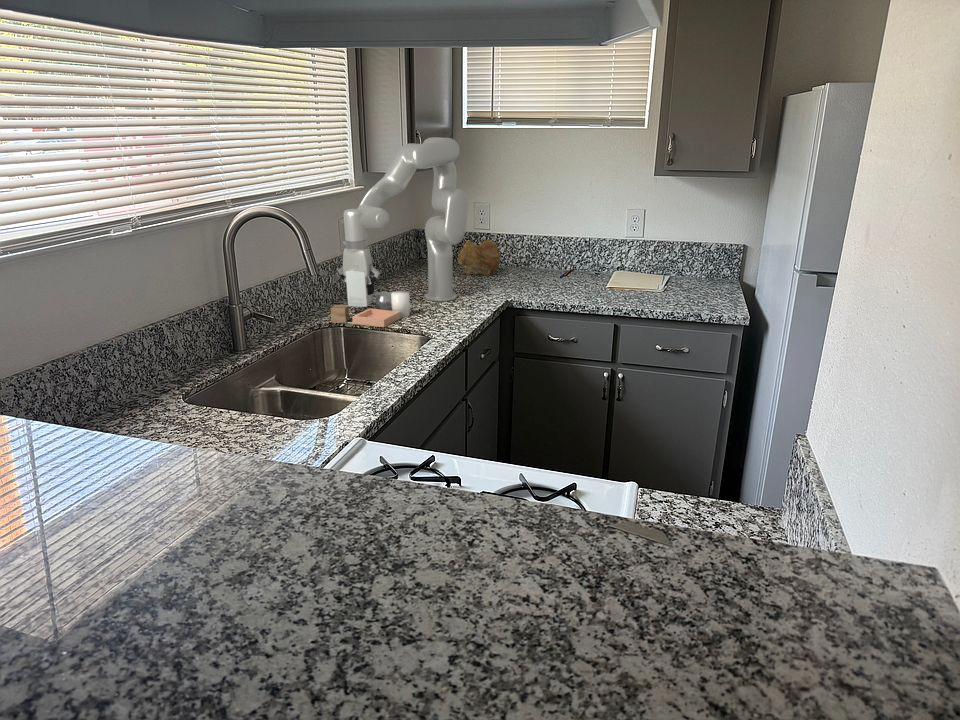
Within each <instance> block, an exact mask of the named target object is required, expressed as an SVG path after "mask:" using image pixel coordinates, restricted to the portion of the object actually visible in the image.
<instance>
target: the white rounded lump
mask: <svg viewBox="0 0 960 720" xmlns="http://www.w3.org/2000/svg"><path fill="white" fill-rule="evenodd" d="M390 293H391V302H392V311H399V312H400V318H407V317H410V315H411V307H410V306H411V305H410V304H411V303H410V299H411V298H410V291H405V290H396V291H392V292H390Z"/></svg>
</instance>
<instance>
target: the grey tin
mask: <svg viewBox="0 0 960 720" xmlns="http://www.w3.org/2000/svg"><path fill="white" fill-rule="evenodd" d="M391 293H392V292H389V291H380V292H376V293H375V309H380V310H390V311H391V310H392V302H391Z"/></svg>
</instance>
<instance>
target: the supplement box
mask: <svg viewBox="0 0 960 720" xmlns="http://www.w3.org/2000/svg"><path fill="white" fill-rule="evenodd" d="M346 283H347V290H346V294H347V295H346V296H347V305H349V307H356V308H357V307H358V308H367V307H368V306H370V305H371V304H372V303H374V293H373V294H371V295H368V291H367V284H368V282H367V278H365V272H354V271H347V272H346Z"/></svg>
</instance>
